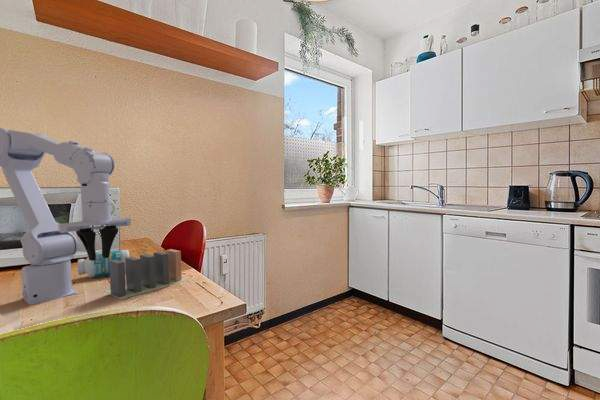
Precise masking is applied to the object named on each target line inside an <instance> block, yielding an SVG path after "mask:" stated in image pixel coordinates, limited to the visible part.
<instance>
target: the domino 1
mask: <svg viewBox="0 0 600 400" xmlns="http://www.w3.org/2000/svg"><path fill="white" fill-rule="evenodd" d="M109 267H110V275H109V283H110V284H109V285H110V289H109V290H111V294H113V295H115V296H117V297H123V296H126V273H125V262H123V261H119V260H110V261H109ZM111 294H110V295H111ZM113 295H112V296H113ZM115 296H114V297H115ZM117 297H116V298H117Z"/></svg>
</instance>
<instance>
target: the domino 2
mask: <svg viewBox="0 0 600 400" xmlns="http://www.w3.org/2000/svg"><path fill="white" fill-rule="evenodd" d="M125 266H126V273H125V282H126V289H127V290H129V291H132V292H134V293H137V292H141V291H142V288H141V263H140V258H137V257H135V256H129V257H127V258H125Z"/></svg>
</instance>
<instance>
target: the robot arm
mask: <svg viewBox="0 0 600 400" xmlns="http://www.w3.org/2000/svg"><path fill="white" fill-rule="evenodd" d="M45 154H48V155H51V156H53V158H54V160H55V161H56V163H59V164H61V165H63V166H66V167H68V168H70V169H73V171H74V173H75V174H76V178H77V179H76V180H77V182H78V184H79V185H80V199H81V202H80V203H81V217H82V219H81V220H82V221H73V222H65V223H59V222H57V221H56V220H55V218H54V216H53V214H52V212H51V210H50V207H49V206H48V203H47V201H46V199H45V197H44V195H43V193H42V191H41V188H40V187H39V185H38V183H37V180H36V178H35V176H34V173H33V171H32V170H34V169H37V168H38V167H39V166H40V164H41V162H42V160H43V158H44V157H45ZM0 167H1V171H2V173H3V176H4V178H5V179H6V182H7V184H8V186H9V188H10V190H11V193H12V194H13V197H14V199H15V201H16V203H17V205H18V208H19V210H20V212H21V214H22V217H23V219H24V220H25V223H26V224H27V226H28V230H27V231H26V232H25V233H24V234H23V235H22V237H21V239H20V243H21V246H22V254H23V257H24V259H25V260H26V261H27V262H28V263H29V264H30V265H26V266H23V267H22V268H21V288H22V300H24V302H26V303H27V304H28V305H29V306H33V305H36V304H41V303H44V302H49V301H53V300H57V299H60V298H61V299H62V298H66V297H69V296H72V295H77V294H78V293H79V292H78V291H77V290H75V289H73V283H72V268H71V267H72V266H71V260H72V259H74V256H75V255H76V254H77V252H78V250H79V249H78V248H79V241H78V239H77V237H78V238H79V240H80V241H81V242H82V244H83V247H84V249H85V251H86V253H87V254H86V255H87V257H89V260H91V261H93V260H96V253H97V252H96V237H97V236H96V235H97V233H96V231H94V230H98V229H99V234H100V240H101V252H102V256H103V257H104V258H109V254H110V251H112V250H111V249H112V246H113V243H114V241H115V239H116V236H117V235H118V234H119V233H118V232H119V227H127V226H128V227H129V226H132V219H131V217H122V218H112V210H111V190H110V189H111V188H110V175H112V174H113V173H114V169H115V161H114V159H113V157H112V156H111V155H110V154H108V153H107V152H95V151H94V150H93V148H91V147H88V146H86V147H84V146H81V145H80V144H79V142H78V141H75V140H68V141H62V142H59V141H57V140H55V139H53V138H50V137H49V136H48V135H44V134H42V133H32V132H26V131H17V130H13V129H6V128H1V127H0ZM72 232H75V233H76V235H74V234H73V233H72ZM76 236H77V237H76Z"/></svg>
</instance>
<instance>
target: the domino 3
mask: <svg viewBox="0 0 600 400" xmlns="http://www.w3.org/2000/svg"><path fill="white" fill-rule="evenodd" d="M139 259H140V263H141V286H144V287H146V288H149V289H151V288H155V287H156V275H155V256H154V255H151V254H147V253H144V254H139Z"/></svg>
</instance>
